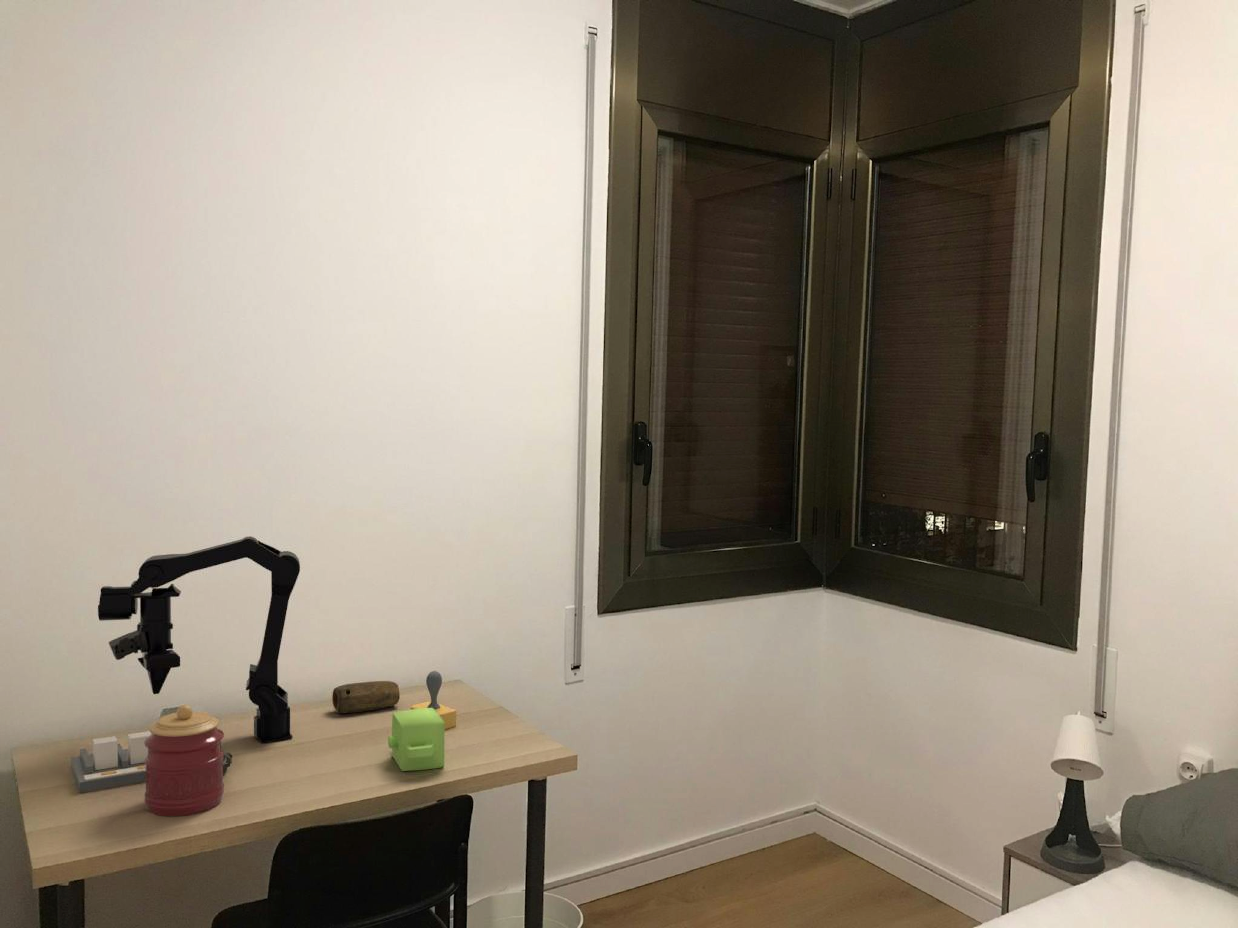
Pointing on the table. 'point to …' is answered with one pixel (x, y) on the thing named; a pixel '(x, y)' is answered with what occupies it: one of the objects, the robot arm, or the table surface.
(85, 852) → the table surface
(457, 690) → the table surface
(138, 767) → the switch panel
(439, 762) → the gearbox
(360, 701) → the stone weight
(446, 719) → the rubber stamp
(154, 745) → the canister
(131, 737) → the tab
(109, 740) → the tab
